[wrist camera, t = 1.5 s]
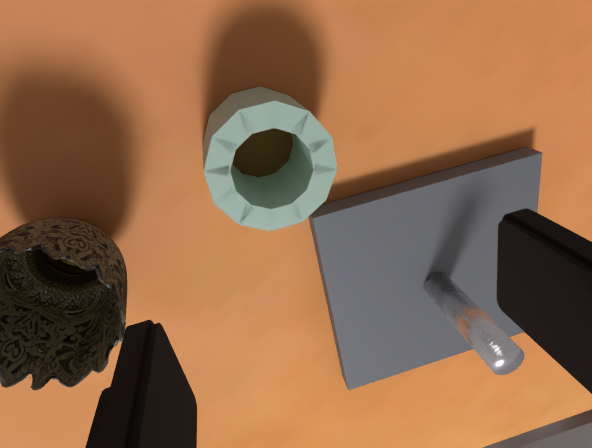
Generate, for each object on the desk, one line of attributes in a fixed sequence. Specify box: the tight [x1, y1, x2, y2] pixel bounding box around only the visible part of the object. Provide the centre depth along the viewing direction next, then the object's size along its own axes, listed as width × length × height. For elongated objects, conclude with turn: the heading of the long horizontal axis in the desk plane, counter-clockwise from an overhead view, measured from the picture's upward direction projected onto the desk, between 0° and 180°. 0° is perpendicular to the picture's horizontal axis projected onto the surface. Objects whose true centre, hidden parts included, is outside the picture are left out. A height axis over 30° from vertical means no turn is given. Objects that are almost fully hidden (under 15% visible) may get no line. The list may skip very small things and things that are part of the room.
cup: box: [0, 217, 127, 390], centre depth 21 cm, size 8×7×8 cm
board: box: [309, 147, 542, 390], centre depth 31 cm, size 16×16×2 cm
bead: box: [203, 86, 337, 231], centre depth 22 cm, size 6×6×5 cm
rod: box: [423, 272, 524, 375], centre depth 27 cm, size 2×2×8 cm
